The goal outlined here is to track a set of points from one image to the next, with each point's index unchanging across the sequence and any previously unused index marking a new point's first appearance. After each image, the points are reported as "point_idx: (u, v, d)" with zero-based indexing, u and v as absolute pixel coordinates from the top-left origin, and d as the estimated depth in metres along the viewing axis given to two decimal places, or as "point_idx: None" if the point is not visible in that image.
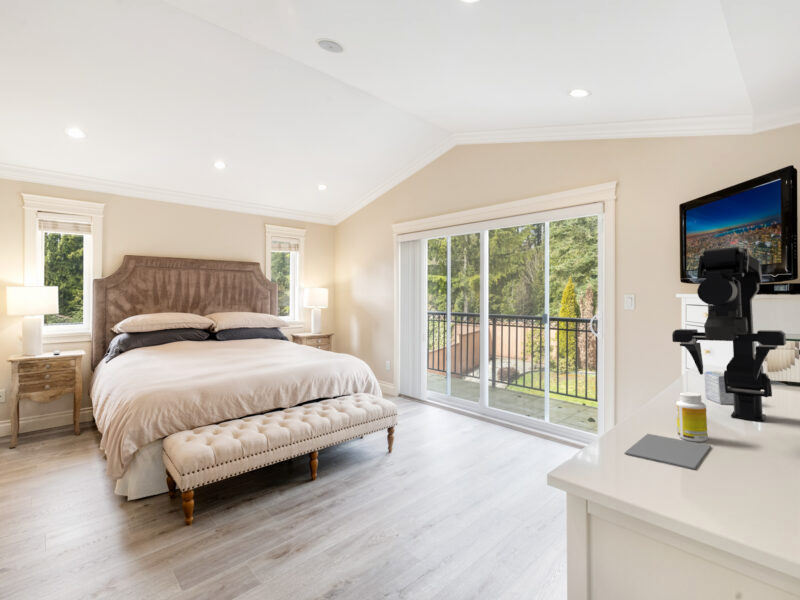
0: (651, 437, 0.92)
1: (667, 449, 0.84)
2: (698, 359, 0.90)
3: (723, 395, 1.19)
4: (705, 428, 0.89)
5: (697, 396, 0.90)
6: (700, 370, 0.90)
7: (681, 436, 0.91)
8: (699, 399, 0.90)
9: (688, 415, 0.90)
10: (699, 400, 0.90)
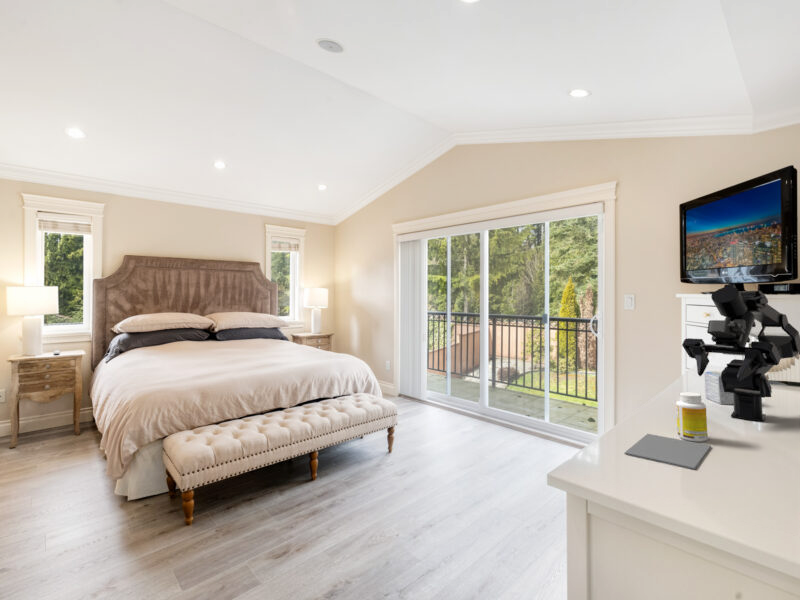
0: (651, 437, 0.92)
1: (667, 449, 0.84)
2: (700, 361, 1.03)
3: (723, 395, 1.19)
4: (705, 428, 0.89)
5: (697, 396, 0.90)
6: (699, 370, 1.02)
7: (681, 436, 0.91)
8: (699, 399, 0.90)
9: (688, 415, 0.90)
10: (699, 400, 0.90)
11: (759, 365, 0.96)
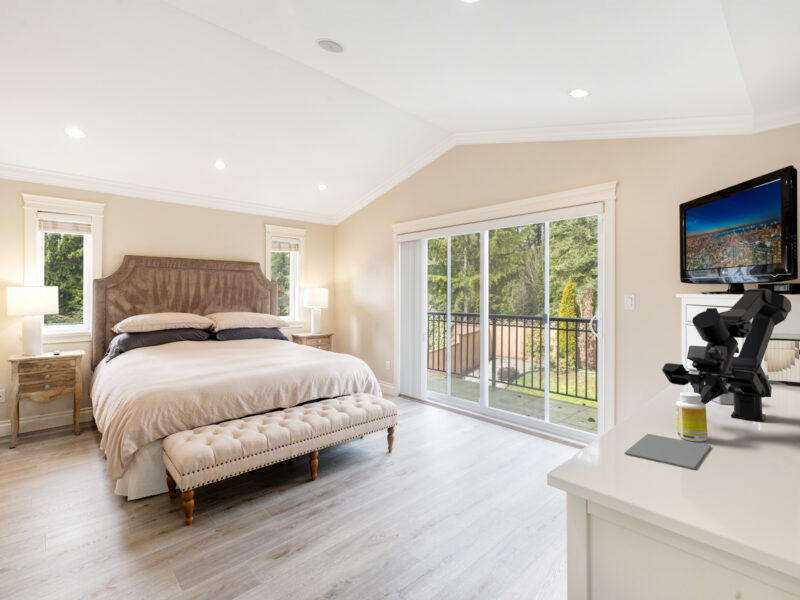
0: (651, 437, 0.92)
1: (667, 449, 0.84)
2: (698, 391, 0.94)
3: (723, 395, 1.19)
4: (705, 428, 0.89)
5: (697, 396, 0.90)
6: None
7: (681, 436, 0.91)
8: (699, 399, 0.90)
9: (688, 415, 0.90)
10: (699, 400, 0.90)
11: (720, 392, 0.94)
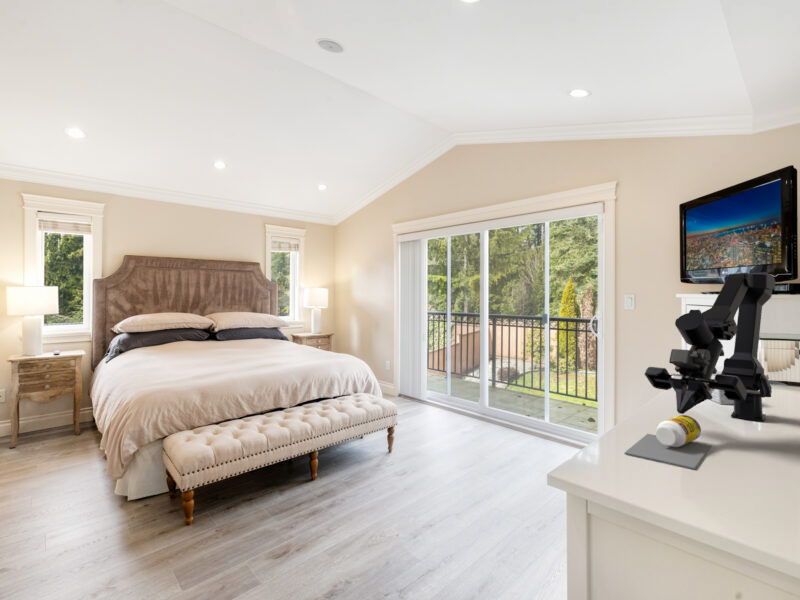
0: (651, 437, 0.92)
1: (667, 449, 0.84)
2: (680, 396, 0.91)
3: (723, 395, 1.19)
4: (695, 435, 0.86)
5: (674, 442, 0.83)
6: (678, 406, 0.90)
7: None
8: (677, 440, 0.84)
9: None
10: (677, 440, 0.84)
11: (703, 397, 0.90)
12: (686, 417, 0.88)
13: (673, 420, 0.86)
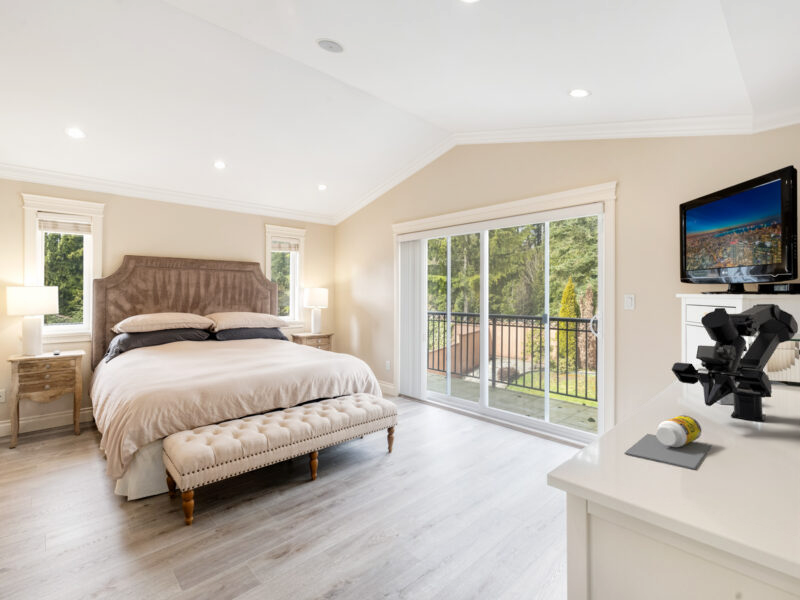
0: (651, 437, 0.92)
1: (667, 449, 0.84)
2: (708, 390, 0.97)
3: None
4: (696, 435, 0.86)
5: (674, 442, 0.83)
6: (706, 399, 0.96)
7: None
8: (677, 440, 0.83)
9: None
10: (678, 440, 0.84)
11: (729, 390, 0.96)
12: (687, 417, 0.88)
13: (674, 420, 0.86)
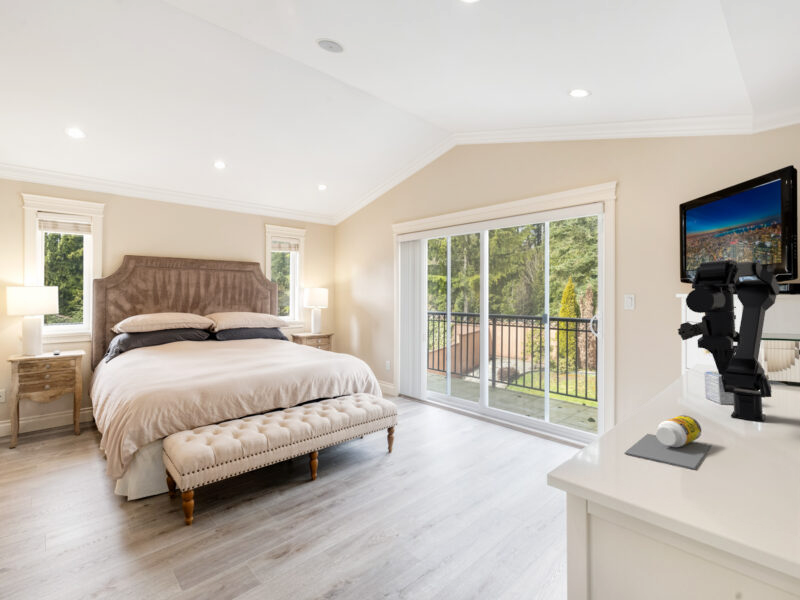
0: (651, 437, 0.92)
1: (667, 449, 0.84)
2: None
3: (723, 395, 1.19)
4: (696, 435, 0.86)
5: (674, 442, 0.83)
6: None
7: None
8: (677, 440, 0.83)
9: None
10: (678, 440, 0.84)
11: (730, 351, 0.96)
12: (687, 417, 0.88)
13: (674, 420, 0.86)
